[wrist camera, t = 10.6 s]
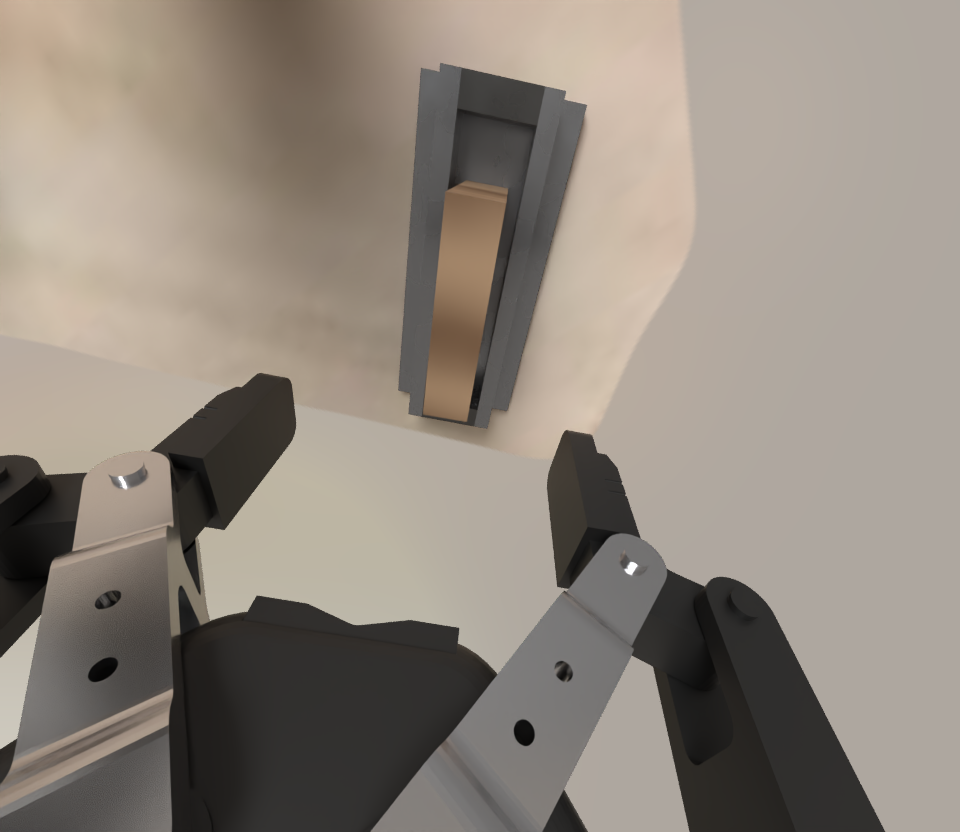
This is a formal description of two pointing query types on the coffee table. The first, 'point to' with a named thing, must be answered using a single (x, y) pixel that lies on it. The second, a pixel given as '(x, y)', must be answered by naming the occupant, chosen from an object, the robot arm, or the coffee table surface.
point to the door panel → (462, 294)
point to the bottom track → (526, 225)
